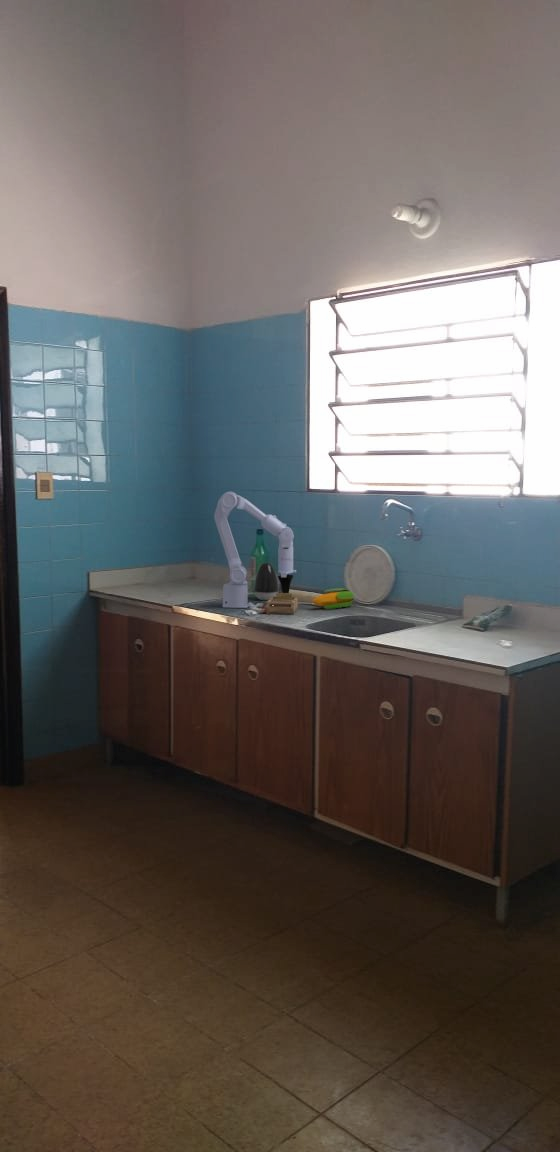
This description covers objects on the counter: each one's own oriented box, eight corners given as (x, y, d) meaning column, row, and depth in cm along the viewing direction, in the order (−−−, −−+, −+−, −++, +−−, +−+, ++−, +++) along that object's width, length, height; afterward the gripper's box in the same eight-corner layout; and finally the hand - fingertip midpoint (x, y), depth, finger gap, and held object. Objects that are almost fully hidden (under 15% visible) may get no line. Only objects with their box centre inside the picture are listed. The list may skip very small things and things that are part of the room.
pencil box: (293, 614, 334) (293, 603, 333) (266, 614, 335) (266, 602, 335) (297, 608, 350) (298, 597, 349) (271, 607, 351) (271, 596, 350)
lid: (290, 605, 334) (290, 598, 334) (270, 605, 335) (270, 597, 335) (294, 600, 348) (294, 592, 348) (274, 600, 349) (274, 592, 349)
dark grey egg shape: (280, 598, 377) (280, 561, 375) (277, 601, 366) (277, 563, 365) (255, 597, 378) (255, 560, 376) (252, 601, 367) (252, 563, 366)
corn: (359, 587, 353) (319, 591, 341) (359, 607, 353) (320, 611, 341) (346, 586, 359) (306, 590, 347) (346, 606, 359) (307, 610, 347)
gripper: (294, 560, 343) (294, 596, 344) (298, 557, 357) (297, 591, 358) (275, 560, 343) (275, 596, 345) (280, 556, 358) (279, 591, 359)
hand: (285, 594), depth 352 cm, fingers closed
